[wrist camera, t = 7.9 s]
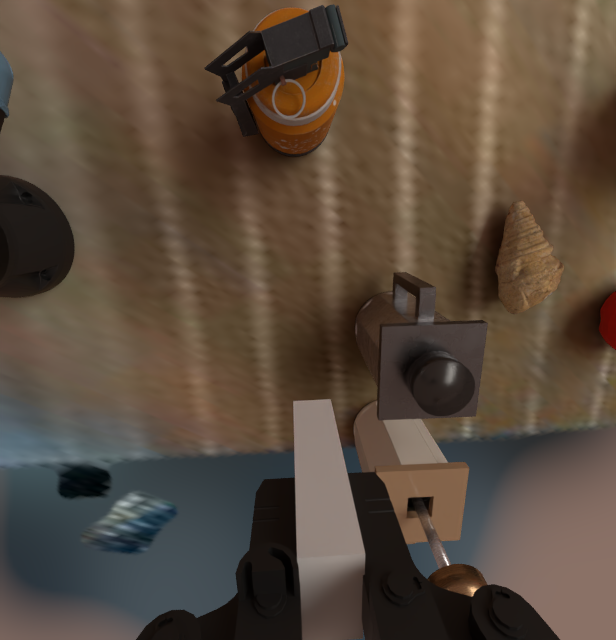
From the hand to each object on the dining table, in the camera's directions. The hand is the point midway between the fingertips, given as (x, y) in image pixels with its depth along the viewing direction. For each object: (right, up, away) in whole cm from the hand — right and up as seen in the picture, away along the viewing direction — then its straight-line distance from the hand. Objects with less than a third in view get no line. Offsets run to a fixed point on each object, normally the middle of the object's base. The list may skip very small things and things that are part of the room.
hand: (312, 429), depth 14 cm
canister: (-3, +29, +29) cm, 41 cm away
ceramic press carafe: (+12, -14, +42) cm, 46 cm away
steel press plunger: (+12, +3, +33) cm, 35 cm away
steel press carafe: (+12, +5, +36) cm, 38 cm away
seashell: (+27, +14, +34) cm, 46 cm away
